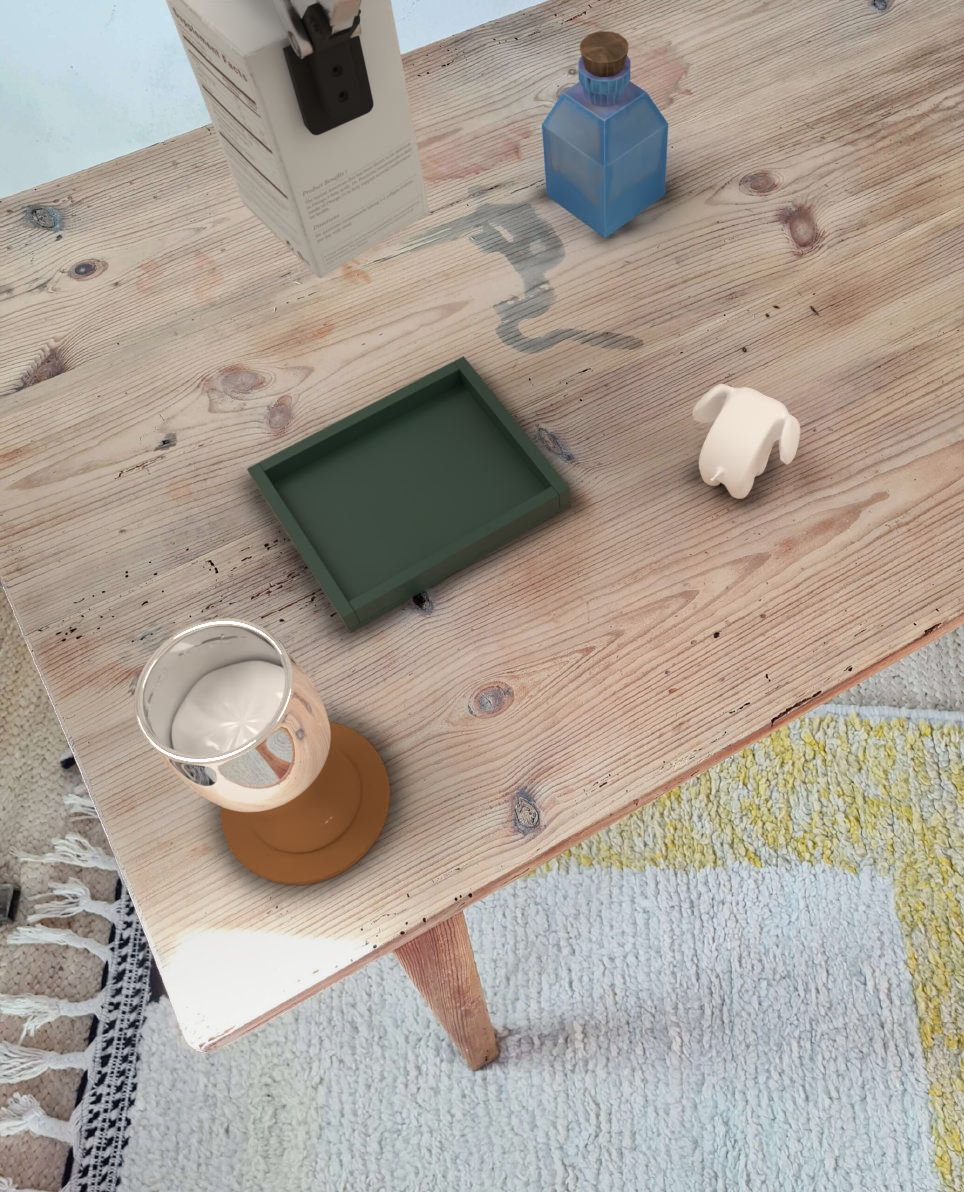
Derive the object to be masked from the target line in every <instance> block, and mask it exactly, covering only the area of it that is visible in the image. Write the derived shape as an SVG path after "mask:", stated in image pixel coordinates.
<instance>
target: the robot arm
mask: <svg viewBox="0 0 964 1192" xmlns="http://www.w3.org/2000/svg"><path fill="white" fill-rule="evenodd" d="M271 1H272V3H273V5H274V8H275V10H276V12H277V14H278V17H279V19H280V21H281V24H282V26H283V28H284V30H285V33H286V35H287V37H288V40H289V42H290V44H291V45H289V46H287V47H285V48H283V52H284V55H285V59H286V62H287V66H288V69H289V73H290V76H291V80H292V83H293V87H294V90H295V94H296V97H297V101H298V104H299V108H300V111H301V115H302V118H303V122H304V125H305V127H306V128H307V129H308V130H309V131H310V133H311V134H313V135H320V134H322V133H324V132H327V131H329V130H331V129H333V128H336V127H338V126H340V125H342V124H345V123H347V122H349V121H351V120H354V119H356V118H358V117H360V116H363V115H365V114H367V113H369V112H370V111H371V110H372V108H373V105H374V102H373V97H372V93H371V88H370V83H369V79H368V74H367V69H366V65H365V60H364V55H363V51H362V46H361V41H360V37H359V35H360V34H361V26H360V14H361V10H360V9H359V8H360V5H361V1H362V0H316V3H314V4H312V5H310V6H308V7H307V9H306V11H305V13H304V15H303V17H302V19H301V17H300V14H299V12H298V10H297V7H296V5H295V3H294V0H271Z"/></svg>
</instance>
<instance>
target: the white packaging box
mask: <svg viewBox="0 0 964 1192" xmlns="http://www.w3.org/2000/svg"><path fill="white" fill-rule="evenodd" d="M165 2H166V4H167V7H168V10H169V13H170V15H171V17H172V18H171V19H172V20H173V22H174V25H175V28H176V32H177V33H178V36H179V40H180V41H181V44H182V46H183V49H184V52H185V55H186V57H187V59H188V63H189V65H190V68H191V70H192V72H193V75H194V78H195V80H196V82H197V85H198V88H199V90H200V93H201V96H202V99H203V103H204V104H205V107H206V109H207V112H208V115H209V117H210V120H211V123H212V127H213V128H214V132H215V134H216V136H217V140H218V142H219V145H220V147H221V150H222V152H223V155H224V158H225V161H226V163H227V166H228V169H229V173H230V174H231V177H232V180H233V183H234V186H235V189H236V190H237V193H238V195H239V198H240V201H241V203H242V205H243V206H245V207H246V209H248V211H250V212H251V214H253V215H254V216H255V218H257V220H259V222H261V224H263V225H264V226H265V228H267V229H268V230H269V231H270V232H271V233H272V234H273V235H274V236H275V237H276V238H277V239H278V240H279V241H280V242H281V243H282V244H283V245H284V246H285V247H286V248H287V249H288V250H289V251H290V252H291V253H292V254H293V255H294V256H295V257H296V258H297V259H298V260H299V261H300V262H301V263H302V264H303V265H305V267H307V269H309V270H310V272H312V273H313V275H314V276H316V277H317V278H319V279H322V278H324V277H326V276H327V275H329V274H330V273H332V272H334V271H336V270H337V269H338V268H340V267H342V266H344V265H345V264H347V263H349V262H350V261H352V260H353V259H356V258H357V257H359V256H360V255H362V254H363V253H365V252H367V251H369V250H370V249H372V248H374V247H375V246H377V245H379V244H381V243H382V242H384V241H385V240H387V239H389V238H390V237H393V235H396V234H398V233H399V232H401V231H402V230H404V229H406V228H408V227H409V226H411V225H413V224H414V223H416V222H417V221H419V220H420V219H422V218H424V217H426V216H427V215H428V214H429V215H430V213H431V210H430V205H429V200H428V194H427V188H426V184H425V178H424V173H423V172H424V171H423V168H422V162H421V161H422V160H421V157H420V151H419V146H418V141H417V135H416V129H415V125H414V119H413V114H412V108H411V103H410V102H411V101H410V98H409V92H408V87H407V82H406V80H407V79H406V75H405V70H404V64H403V59H402V54H401V48H400V43H399V42H400V41H399V37H398V33H397V27H396V21H395V17H394V11H393V5H392V0H362V1H361V5H360V8H359V9H360V10H361V14H360V26H361V34H360V35H359V37H360V41H361V46H362V51H363V55H364V60H365V65H366V69H367V74H368V79H369V83H370V88H371V93H372V97H373V102H374V105H373V108H372V110H371V111H370V112H369V113H367V114H365V115H363V116H360V117H358V118H356V119H354V120H351V121H349V122H347V123H345V124H342V125H340V126H338V127H336V128H333V129H331V130H329V131H327V132H324V133H322V134H320V135H313V134H311V133H310V131H309V130H308V129H307V128H306V127H305V125H304V122H303V118H302V115H301V111H300V108H299V104H298V101H297V97H296V94H295V90H294V87H293V83H292V80H291V76H290V73H289V69H288V66H287V62H286V59H285V55H284V52H283V48H285V47H287V46H289V45H291V44H290V42H289V40H288V37H287V35H286V33H285V30H284V28H283V26H282V24H281V21H280V19H279V17H278V14H277V12H276V10H275V8H274V5H273V3H272V1H271V0H165ZM294 3H295V5H296V7H297V10H298V12H299V14H300V17H301V19H302V17H303V15H304V13H305V11H306V9H307V7H308V6H310V5H312V4H314V3H316V0H294Z"/></svg>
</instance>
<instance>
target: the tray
mask: <svg viewBox="0 0 964 1192" xmlns="http://www.w3.org/2000/svg"><path fill="white" fill-rule="evenodd" d="M246 471H247V472H248V474H249V476H250V478H251V479H252V481H253V484H254V485H255V487H256V489H257V490H258V492H259V494H260V495H261V496H262V499H263V500H264V501H265V503H266V504H267V506H268V507H269V509H270V510H271V512H272V514H273V515H274V517H275V519H276V520H277V522H278V523H279V525H280V526H281V528H282V530H283V532H284V533H285V534H286V536H287V538H288V539H289V541H290V542H291V544H292V545H293V547H294V548H295V550H296V551H297V553H298V555H299V556H300V558H301V560H302V561H303V562H304V564H305V566H306V568H307V569H308V571H309V572H310V573H311V575H312V577H313V578H314V580H315V581H316V583H317V584H318V586H319V588H320V589H321V591H322V593H323V595H324V596H325V597H326V599H327V600H328V602H329V603H330V605H331V607H332V608H333V610H334V612H335V613H336V614H337V616H338V618H339V619H340V621H341V622H342V624H343V625H344V627H345V629H346V630H347V632H348V633H349V634H351V633H353V632H355V631H356V630H359V629H360V628H362V627H363V626H365V625H367V624H368V623H370V622H372V621H374V620H375V619H377V618H379V617H381V616H383V615H385V614H386V613H388V612H389V611H391V610H393V609H395V608H396V607H398V606H400V605H401V604H403V603H405V602H407V601H408V600H410V599H412V598H414V597H415V596H417V595H419V594H421V593H422V592H424V591H426V590H428V589H429V588H431V587H433V586H435V585H436V584H438V583H439V582H442V581H443V580H445V579H446V578H448V577H450V576H452V575H453V574H455V573H457V572H459V571H461V570H462V569H464V568H466V567H467V566H469V565H471V564H473V563H474V562H476V561H478V560H480V559H481V558H483V557H485V556H486V555H488V554H490V553H492V552H494V551H495V550H497V549H499V548H500V547H502V546H503V545H506V544H507V543H509V542H511V541H512V540H514V539H516V538H517V537H519V536H522V535H523V534H525V533H526V532H528V531H530V530H532V529H533V528H535V527H537V526H539V525H540V524H542V523H544V522H545V521H548V520H549V519H551V518H552V517H554V516H556V515H557V514H559V513H561V512H563V511H565V510H566V509H568V508H570V507H571V505H572V504H571V503H572V501H571V488H570V487H569V485H568V484H567V483H566V481H565V480H564V479H563V478H562V476H561V475H560V474H559V473H558V472H557V471H556V469H555V468H554V467H553V465H552V464H551V463H550V461H548V459H547V457H545V455H544V454H543V453H542V452H541V450H539V448H538V447H537V446H536V444H535V443H534V442H533V440H532V439H531V438H530V436H528V434H527V433H526V432H525V430H524V429H523V428H522V427H521V425H520V424H519V423H518V421H516V419H515V418H514V417H513V415H512V414H511V413H510V411H508V409H507V408H506V407H505V406H504V404H503V403H502V401H500V399H499V398H498V397H497V396H496V394H495V393H494V392H493V391H492V389H491V388H490V387H489V385H488V384H487V382H485V381H484V380H483V378H482V377H481V376H480V374H479V373H478V372H477V370H475V368H474V367H473V366H472V365H471V363H470V362H469V361H468V359H467V358H466V357H465V356H464V355H463V356H461V357H459V358H457V359H455V360H454V361H450V363H447V364H445V365H444V366H441V367H440V368H437V369H436V370H434V371H432V372H430V373H428V374H426V375H424V376H423V377H421V378H419V379H417V380H415V381H413V382H411V383H409V384H407V385H405V386H403V387H401V388H399V389H397V390H395V391H394V392H392V393H390V394H387V395H386V396H384V397H382V398H380V399H378V400H376V401H374V402H372V403H370V404H368V405H366V406H365V407H363V408H360V409H359V410H356V411H354V412H353V413H351V414H349V415H347V416H345V417H344V418H341V419H340V420H338V421H336V422H334V423H332V424H329V425H327V426H326V427H324V428H322V429H320V430H318V431H316V432H314V433H313V434H311V435H309V436H306V437H305V438H303V439H301V440H299V441H297V442H295V443H294V444H291V445H289V446H288V447H285V448H284V449H282V450H280V451H278V452H276V453H274V454H272V455H270V456H269V457H266V458H264V459H263V460H261V461H258V462H257V463H255V464H253V465H251V466H249V467H247V468H246Z"/></svg>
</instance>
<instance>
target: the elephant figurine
mask: <svg viewBox="0 0 964 1192" xmlns="http://www.w3.org/2000/svg"><path fill="white" fill-rule="evenodd" d="M691 417H692V419H693V421H695V422H698V423H703V424H708V423H712V422H713V423H712V425H711V426H710V429H709V431H708V433H707V435H706V437H705V439H704V442H703V443H702V448H701V449H700V453H699V458H698V469H699V473H700V477H701V478H702V480H703V482H704V483H705V484H706V485H708V486H711V487H717V486H719V485H720V484H722V485H724V487H725V488H726V490H727V491H728V493H729V495H730V496H731V497H732V498H734V499H738V500H741V499H745V498H746V497H747V496H748V495H749V493H750V492H751V490H752V488H753V486H754V482H755V478H756V477H758V476H760V475H762V474H763V473H764V472H765V470H766V467H767V464H768V461H769V458H770V455H771V452H772V450H773V448H774V445H775V443H776V442H777V441H778V451H779V459H780V461H781V462H783V463H784V465H790V464H791V463H792V462H793V460H794V458H795V457H796V454H797V451H798V448H799V442H800V438H801V425H800V422H799V420H798V419H797V418H796V417H795V416H793V415H792V414H791V413H790V412H789V410H788V408H787V406H786V405H785V404H784V403H783V402H781V401H779V400H777V399H776V398H772V397H770V396H767V395H766V394H763V393H761V392H760V391H758V390H757V389H754V388H751V387H747V386H746V387H745V386H742V387H733V386H730V385H727V384H726V383H719V384H717V385H715V386H713V387H711V389H709V390H708V391H707V392H706V393H705V394H704V395H702V397H701V398H700V399H699V400H698V402H696V404H695V405H694V408H693V409H692V416H691Z"/></svg>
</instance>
